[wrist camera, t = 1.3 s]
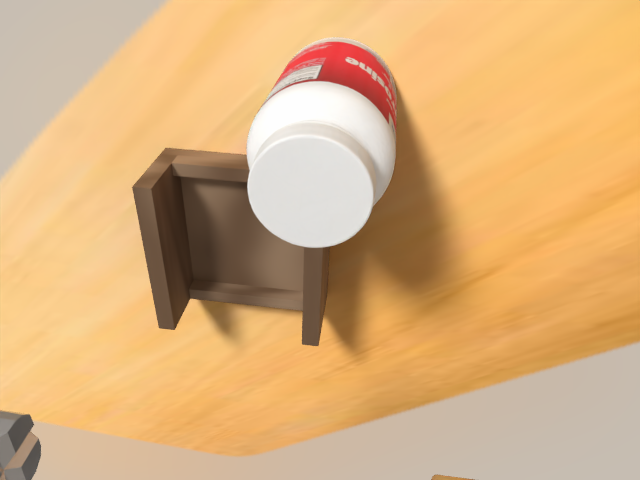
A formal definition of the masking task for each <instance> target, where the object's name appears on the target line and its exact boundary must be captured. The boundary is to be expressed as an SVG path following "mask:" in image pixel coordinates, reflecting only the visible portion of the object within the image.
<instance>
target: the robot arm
mask: <svg viewBox="0 0 640 480" xmlns="http://www.w3.org/2000/svg"><path fill="white" fill-rule="evenodd" d="M33 425H34V424H33V421H32V419H31V416H30V414H23V413H16V412H10V411H3V410H0V480H31V479H32V477H33V476H34V474H35V472H36V469H37V466H38V463H39V460H40V456H41V445H40V442H39V439H38V437H36V436H35V435H34V434H33V433H31V432H30V430H31V428H32V427H33ZM431 480H473V479H466V478H458V477H450V476H443V475H434V476H433V477H432V479H431Z"/></svg>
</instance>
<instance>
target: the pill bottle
mask: <svg viewBox="0 0 640 480" xmlns="http://www.w3.org/2000/svg"><path fill="white" fill-rule="evenodd" d="M396 106H397V95H396V87H395V83H394V80H393V77H392V74H391V72H390V70H389V68H388V66H387V65H386V63H385V62H384V60H383V59H382V58H381V57H380V56H379V55H378V54H377V53H376V52H375V51H374V50H373V49H371V48H370V47H368V46H367V45H365V44H363V43H361V42H359V41H356V40H353V39H348V38H340V37H333V38H325V39H321V40H318V41H315V42H313V43H311V44H309V45H307V46H306V47H304V48H303V49H301V50H300V51H299V52H298V53H297V54H296V55H295V56H294V57H293V58H292V59H291V61H290V62H289V63H288V65H287V66H286V68H285V69H284V71H283V73H282V74H281V76H280V77H279V79H278V81H277V82H276V84H275V86H274V87H273V89H272V90H271V92H270V94H269V95H268V97H267V99H266V100H265V102H264V103H263V105H262V107H261V108H260V110H259V111H258V113H257V115H256V116H255V118H254V120H253V123H252V125H251V128H250V131H249V134H248V139H247V161H248V166H249V170H250V172H249V177H248V184H247V188H248V196H249V202H250V204H251V207H252V209H253V212H254V213H255V215H256V217H257V218H258V219H259V221H260V222H261V223H262V224H263V225H264V226H265V227H266V228H267V229H268V230H269V231H270V232H272V233H273V234H274V235H276V236H277V237H279V238H281V239H282V240H285V241H287V242H289V243H291V244H295V245H298V246H303V247H309V248H322V247H329V246H334V245H337V244H339V243H342V242H344V241H346V240H348V239H350V238H351V237H353V236H354V235H355V234H356V233H357V232H358V231H360V230H361V228H362V227H363V226H364V225H365V223H366V222H367V220H368V218H369V216H370V214H371V211H372V208H373V206H374V205H375V204H376V203H377V202H378V200H379V199H380V198H381V197H382V195H383V194H384V192H385V191H386V189H387V187H388V185H389V183H390V181H391V178H392V175H393V171H394V165H395V157H396V118H397V116H396V114H397V111H396V110H397V107H396Z"/></svg>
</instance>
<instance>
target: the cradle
mask: <svg viewBox="0 0 640 480" xmlns="http://www.w3.org/2000/svg"><path fill="white" fill-rule="evenodd" d="M249 172H250V170H249V166H248V161H247V155H241V154H230V153H218V152H206V151H195V150H183V149H171V148H165V149H164V151H163V152H162V153H161V154H160V155H159V156H158V158H157V159H156V160H155V161H154V162H153V163H152V165H151V166H150V167H149V168H148V169H147V170H146V172H145V173H144V174H143V175H142V176H141V177H140V179H139V180H138V181H137V182H136V183H135V184H134V186H133V187H132V188H133V193H134V199H135V204H136V209H137V214H138V220H139V225H140V230H141V235H142V241H143V246H144V251H145V257H146V262H147V267H148V272H149V278H150V283H151V288H152V294H153V299H154V304H155V309H156V315H157V320H158V325H159V328H162V329H171V330H175V328H176V326H177V324H178V322H179V320H180V318H181V316H182V314H183V312H184V310H185V308H186V306H187V304H188V302H189V300H190V299H200V300H209V301H218V302H227V303H237V304H246V305H255V306H264V307H273V308H283V309H292V310H301V311H303V321H302V344H303V345H312V346H318V345H319V339H320V333H321V327H322V321H323V316H324V310H325V304H326V298H327V285H328V267H329V249H330V246H329V247H322V248H309V247H303V246H298V245H295V244H291V243H289V242H287V241H285V240H282V239H281V238H279V237H277V236H276V235H274V234H273V233H272V232H270V231H269V230H268V229H267V228H266V227H265V226H264V225H263V224H262V223H261V222H260V221H259V219H258V218H257V217H256V215H255V213H254V212H253V209H252V207H251V204H250V202H249V196H248V188H247V184H248V177H249Z"/></svg>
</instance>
